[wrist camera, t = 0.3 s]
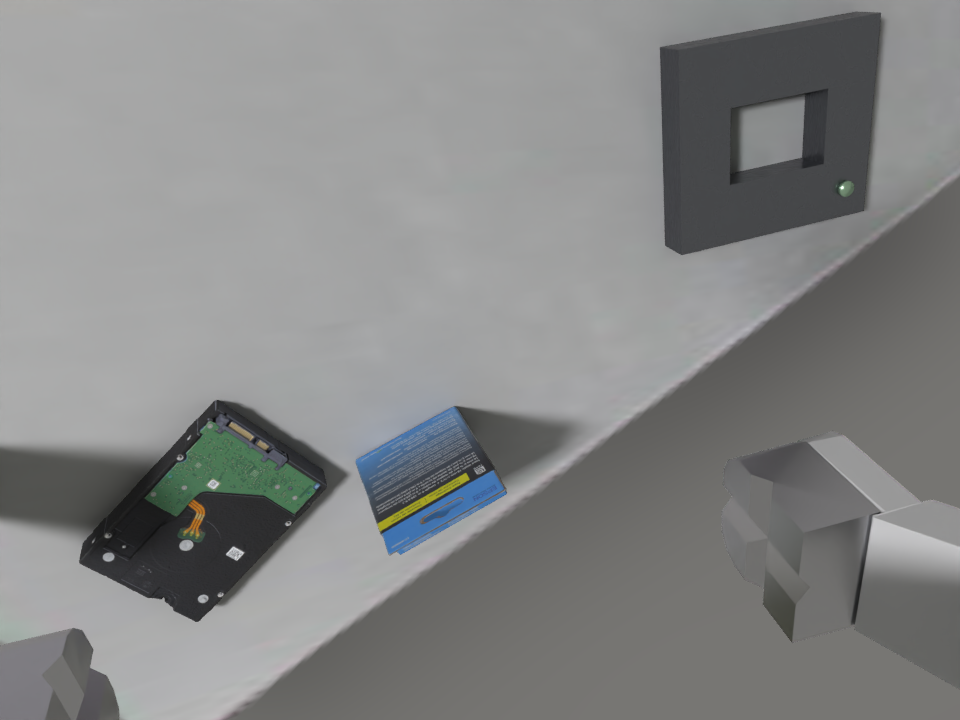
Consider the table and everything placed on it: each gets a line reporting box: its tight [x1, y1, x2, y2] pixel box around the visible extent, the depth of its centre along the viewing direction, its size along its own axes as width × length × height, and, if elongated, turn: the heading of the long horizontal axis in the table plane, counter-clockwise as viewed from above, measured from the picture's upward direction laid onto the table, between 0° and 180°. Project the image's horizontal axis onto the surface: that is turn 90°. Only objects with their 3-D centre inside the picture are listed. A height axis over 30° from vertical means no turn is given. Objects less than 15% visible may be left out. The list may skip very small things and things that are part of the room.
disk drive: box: [79, 400, 327, 622], centre depth 60 cm, size 10×3×15 cm
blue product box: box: [356, 407, 507, 555], centre depth 59 cm, size 9×4×12 cm, turn 114°
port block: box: [660, 12, 881, 255], centre depth 60 cm, size 14×16×3 cm
